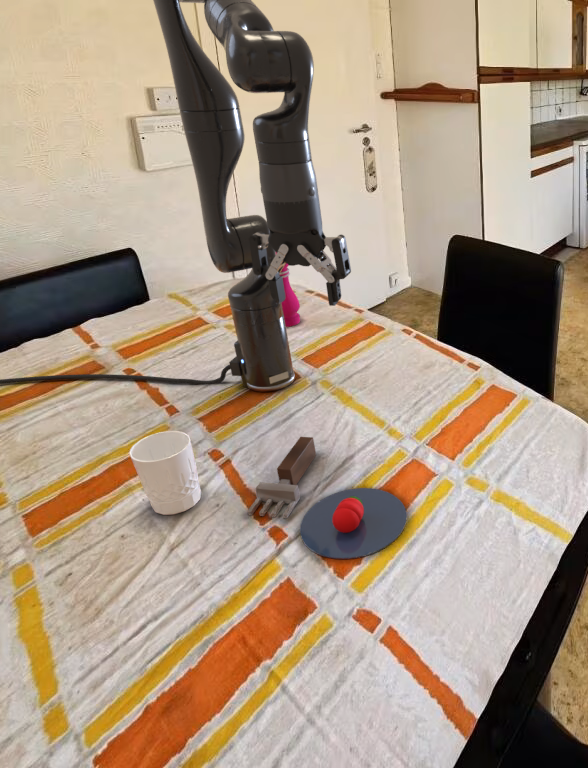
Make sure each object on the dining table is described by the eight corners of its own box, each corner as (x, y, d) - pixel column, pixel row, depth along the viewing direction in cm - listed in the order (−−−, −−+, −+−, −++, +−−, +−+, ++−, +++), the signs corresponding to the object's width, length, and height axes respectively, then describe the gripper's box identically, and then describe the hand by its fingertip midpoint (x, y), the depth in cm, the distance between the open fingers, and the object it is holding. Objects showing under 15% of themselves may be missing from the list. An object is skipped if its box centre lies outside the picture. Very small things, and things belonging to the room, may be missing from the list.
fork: (292, 453, 105) (289, 435, 103) (327, 456, 104) (324, 438, 102) (248, 515, 91) (243, 495, 89) (287, 518, 90) (283, 498, 88)
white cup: (186, 478, 99) (170, 425, 94) (216, 496, 95) (201, 441, 90) (137, 505, 93) (118, 449, 88) (167, 525, 89) (148, 468, 84)
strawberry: (333, 539, 86) (324, 518, 85) (346, 513, 91) (338, 493, 90) (358, 537, 86) (350, 516, 84) (370, 512, 90) (363, 491, 89)
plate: (282, 553, 84) (282, 552, 84) (323, 485, 97) (323, 484, 97) (390, 564, 82) (390, 563, 82) (417, 493, 95) (417, 492, 95)
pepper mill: (293, 329, 151) (280, 248, 141) (266, 327, 152) (251, 246, 143) (307, 318, 157) (295, 239, 148) (281, 316, 158) (267, 238, 149)
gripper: (348, 190, 90) (360, 296, 98) (255, 187, 91) (273, 291, 99) (329, 201, 83) (343, 314, 91) (229, 198, 85) (251, 309, 93)
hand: (307, 302), depth 95 cm, fingers open, 8 cm apart
